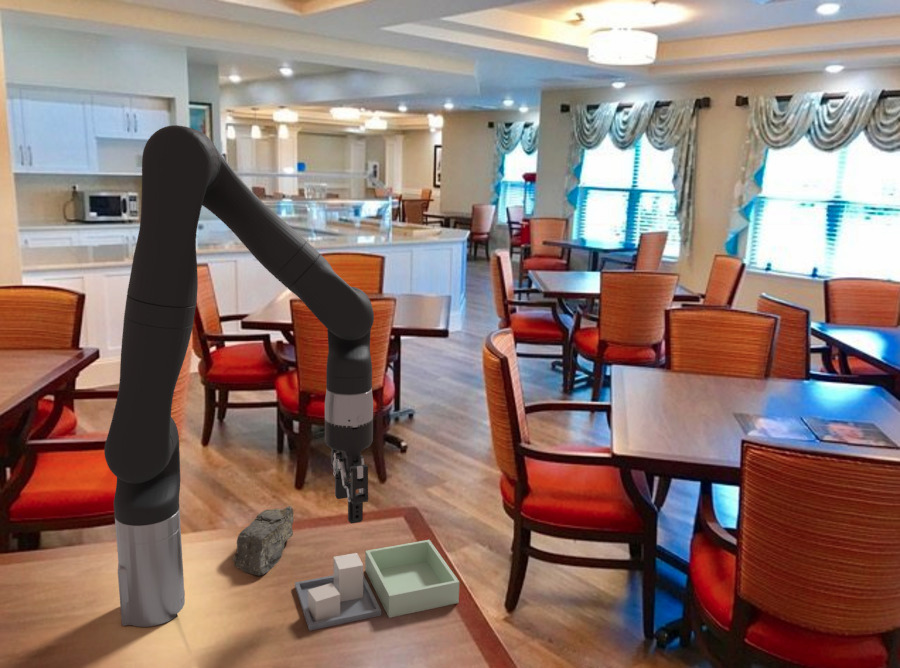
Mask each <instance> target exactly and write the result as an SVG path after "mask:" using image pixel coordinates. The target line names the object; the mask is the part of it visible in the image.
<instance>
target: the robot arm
mask: <svg viewBox="0 0 900 668" xmlns="http://www.w3.org/2000/svg"><path fill="white" fill-rule="evenodd" d="M140 200H141V203H140V204H141V205H140V206H141V207H140V221H139V222H140V223H139V229H138V235H137V239H136V245H135V249H134V253H133V258H132V263H131V269H130V276H129V282H128V285H127V286H128V287H127V292H126V293H127V294H126V300H125V308H124V313H123V315H124V316H123V326H122V336H121V347H120V348H121V350H120V365H119V367H120V368H119V369H120V370H119V384H118V392H117V397H116V401H115V406H114V411H113V414H112V418H111V423H110V426H109V430H108V433H107V436H106V440H105V443H104V449H103V450H104V459H105V461H106V465H107V467H108V468H109V470H110V471H111V472H112V474H113V475H114V476H115V477H116V487H115V492H114V498H113V512H114V523H115V537H116V548H117V549H116V551H117V561H118V563H117V580H118V591H119V592H118V593H119V605H120V618H121V619H120V621H121V626H123V627H125V626H135V627H138V628H139V627H144V628H147V627H155V626H160V625H162V624H165V623H167V622H170V621H172V620H173V619H175V618H177V616H178V614H179V613H180V612H181V611H182V609H184V607H185V600H186V599H185V595H186V593H185V581H184V580H185V577H184V561H183V549H182V548H183V547H182V546H183V545H182V529H181V512H180V511H181V510H180V490H181V460H180V459H181V458H180V454H181V453H180V451H181V450H180V435H179V430H178V426H177V424H176V422H175V420H174V418H172V407H173V399H174V393H175V389H176V386H177V383H178V380H179V377H180V373H181V371H182V368H183V364H184V362H185V361H184V360H185V358H186V354H187V351H188V347H189V344H190V340H191V336H192V331H193V326H194V321H195V319H194V318H195V314H196V307H197V300H198V290H199V289H198V287H199V286H198V285H199V284H198V283H199V282H198V281H199V280H198V279H199V278H198V277H199V276H198V275H199V274H198V259H197V233H198V232H197V231H198V225H199V220H200V215H201V211H202V207H204V208H205V209H207V210H208V211H209V212H210V213H212V214H213V215H215V216H216V218H218V219H219V221H221V222H222V223H224V225H225V226H226V227H227V228H228V229H229V230H230V231H231V233H233V234H234V235H235V236H236V237H237V238H238V239H239V240H240V242H241V243H242V244H243V245H244V246H245V247H246V249H247V250H248V251H249V252H250V254H251V255H252V256H253V257H254V258H255V259H256V260H257V261H258V262H259V263H260V264H261V266H263V268H264V269H266V271H268V272H269V273H270V274H271V275H272V276H273V277H274V278H275V279H276V280H277V281H279V282H280V283H281V285H283V286H284V287H285V288H287V290H289V291H290V292H291V293H292V294H294V295H295V296H296V297H297V298H299V299H300V301H301V302H303V304H304V305H305V306H306V307H307V308H308V310H309V311H310V312H311V313H312V314H313V315H314V317H315V318H317V320H318V321H319V322H320V323H321V324H322V325H323V326H324V327H326V331H327V346H328V347H327V348H328V353H327V360H326V369H325V370H326V371H325V372H326V375H325V378H326V383H325V386H326V391H325V392H326V393H325V398H324V443H325V445H326V446H327V447H329V448H330V450H331V452H330V467H331V470H333V472H332V474H333V477H334V482H335V483H334V496H335V499H337V500H342V499H347V520H348V522H349V524H356V523H357V524H358V523H361V522H363V520H364V519H363V516H364V503H366V502H368V501H369V466H368V464H367V463H366V464H365V458H364V456H363V455H362V451H363V450H365V449H367V448H369V447H370V446H371V445H372V443H373V438H374V397H373V363H372V357H371V356H372V355H371V334H372V333H371V331H372V327H373V325H374V320H375V315H374V314H375V313H374V309H373V308H374V307H373V306H372V302H371V299H370V297H369V296H368V295H367V294H366V293H365V292H364V291H363V290H362V289H360V288H357V287H354V286H350V285H349V284H348V283H347V282H346V281H345V280H344V279H343V278H342V277H341V276H339V275H338V274H337V273H336V272H335V271H334V268H332V266H331V264H330V262H329V261H327V259H326V258H325V257H324V256H323V255H322V254H320V252H319V251H318V250H317V249H316V248H315V247H314V246H312V245H311V244H310V243H309V242H308V241H307V240H306V239H305V238H304V237H303V236H301V235H300V234H299V233H298V232H297V231H296V230H295V229H294V228H293V227H292V226H290V225H289V224H288V223H287V222H286V221H285V220H284V219H282V218H281V217H280V216H279V215H278V214H277V213H275V212H274V211H273V210H272V209H271V208H270V207H269V206H267V205H266V204H265V202H263V201H262V199H260V198H259V197H258V196H257V195H256V194H255V193H254V192H253V191H252V190H251V189H250V188H249V187H248V186H247V184H245V182H244V181H243V180H242V179H241V178H240V177H239V176H238V174H237V173H236V172H235V171H234V169H233V168H232V167H231V165H229V163H228V162H227V161H226V159H225V158H224V157H223V155H222V154H221V153H220V152H219V149H217V147H216V146H215V144H214V141H212V140H211V138H209V137H208V136H207V134H205V133H204V132H201V131H200V130H198V129H195V128H191V127H189V126H185V125H184V126H183V125H179V124H178V125H174V124H173V125H167V126H164V127H161V128H159V129H158V130H155V132H153V134H152V135H150V137H149V138H148V140H147V141H146V143H145V145H144V147H143V152H142V158H141V198H140ZM356 490H358V492H356Z"/></svg>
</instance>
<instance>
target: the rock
mask: <svg viewBox="0 0 900 668" xmlns="http://www.w3.org/2000/svg"><path fill="white" fill-rule="evenodd" d="M294 519H295V518H294V509H293V507H291V506H286V507H285V508H283V509H280V508H273V509H265V510H263V511H261V512H260V513H258V514H257V515H256V517H255V519H253V521H252V522H251V523H249V525H248V526H246V527H244V528H243V530H241V531H240V533H239V534H238V537H237V538H236V553H235V554H234V555H233V556H232V562H233V564H234V566H235V568H237V569H239V570H241V571H242V572H244V573H246V574H251V575H254V576H263V575H265V574H267V573H268V572H269V571H270V570H271V569H273V568H274V567H275V565H277V564H278V563H279V561H280V559H282V557H283V556H282V555H283V551H284V549H285V543H286V542H287V541H288V540H289V539H291V538H292V537H293V534H294V530H293V524H294Z"/></svg>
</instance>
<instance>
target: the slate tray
mask: <svg viewBox="0 0 900 668" xmlns="http://www.w3.org/2000/svg"><path fill="white" fill-rule="evenodd" d="M329 583H332V584H333V586H334V574H332V575H327V576H322V577H317V578H311V579H306V580H301V581H295V582H294V588H295V591H296V594H297V597H298V602H299V604H300V606H301V610H302V612H303V615H304V620H305V621H306V624H307V628H308V631H309V632H310V631H316V630H318V629H323V628H329V627H334V626H338V625H342V624H343V625H344V624H348V623H353V622H357V621H360V620H361V621H362V620H366V619H372V618H375V617H380V616H382V609H381V607H380V605H379V603H378V601H377V599H376V597H375V595H374V593H373V591H372V589H371V586H370V584H369V583H368V581H367V579H366V577H365V575H364V573H363V598H358V599H353V600H348V601H343V602H340V617H335V618H330V619H325V620H321V621H316V622H315V621H314V620H313V619H312V617H311V616H310V614H309V611H308V590H309V589H313V588H316V587H319V586H323V585H326V584H329Z"/></svg>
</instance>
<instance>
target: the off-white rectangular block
mask: <svg viewBox="0 0 900 668" xmlns="http://www.w3.org/2000/svg"><path fill="white" fill-rule="evenodd" d="M363 574H364V564H363V562H362V560H361V557H360V556H359V554H358V553H357V552H354V553H353V552H352V553H348V554H341V555H336V556H333V575H334V587H335V588H336V589H337V591H338V592H339V593H340V602H343V601H348V600H353V599H358V598H363Z"/></svg>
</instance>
